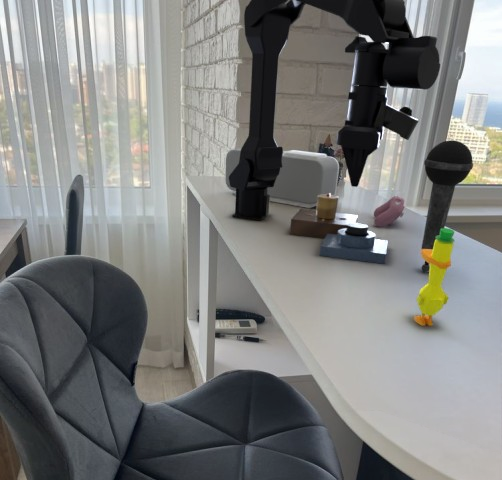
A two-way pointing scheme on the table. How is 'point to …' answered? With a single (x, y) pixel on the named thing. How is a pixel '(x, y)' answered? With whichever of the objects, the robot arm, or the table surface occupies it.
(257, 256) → the table surface
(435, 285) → the toy figure
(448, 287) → the table surface
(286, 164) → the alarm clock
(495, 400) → the table surface
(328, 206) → the dial
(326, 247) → the button box
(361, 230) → the button
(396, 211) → the video game controller
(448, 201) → the microphone
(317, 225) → the dial panel
